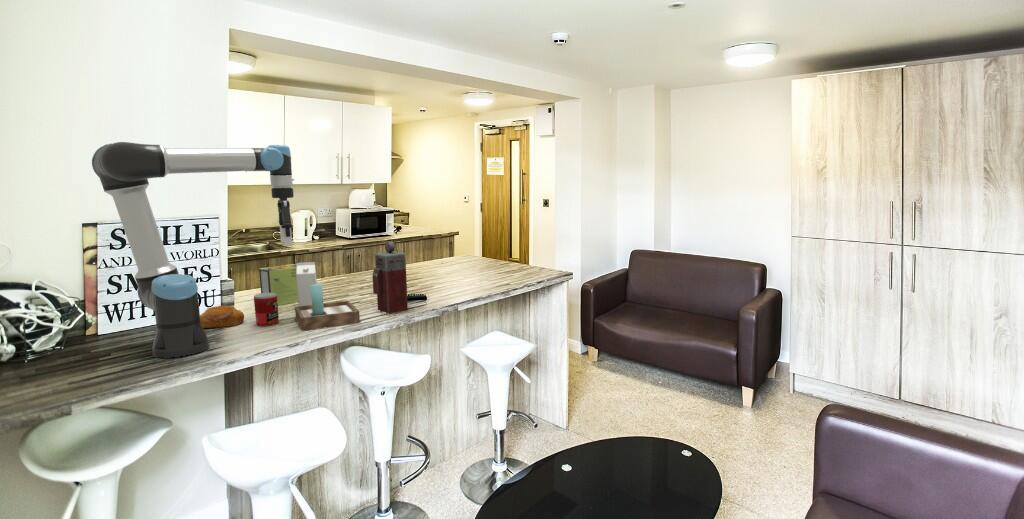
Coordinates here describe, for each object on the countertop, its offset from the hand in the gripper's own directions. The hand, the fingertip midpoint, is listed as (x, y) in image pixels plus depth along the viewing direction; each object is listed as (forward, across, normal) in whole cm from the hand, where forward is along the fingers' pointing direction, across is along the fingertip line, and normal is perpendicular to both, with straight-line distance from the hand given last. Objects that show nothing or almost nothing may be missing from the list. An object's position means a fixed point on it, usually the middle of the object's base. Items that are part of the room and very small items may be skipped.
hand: (286, 243), depth 200 cm
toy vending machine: (+29, -9, -36) cm, 47 cm away
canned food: (+29, -5, +9) cm, 31 cm away
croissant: (+29, +4, +24) cm, 38 cm away
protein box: (+29, +31, 0) cm, 42 cm away
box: (+29, -12, -11) cm, 33 cm away
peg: (+29, -12, -8) cm, 32 cm away
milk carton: (+29, +14, -8) cm, 33 cm away
